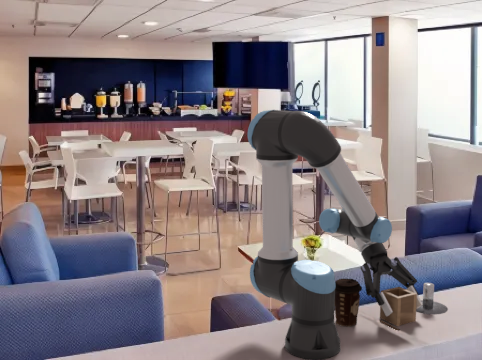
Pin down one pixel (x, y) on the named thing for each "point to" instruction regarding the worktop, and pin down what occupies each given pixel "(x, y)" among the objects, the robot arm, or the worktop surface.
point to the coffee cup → (347, 301)
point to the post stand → (430, 302)
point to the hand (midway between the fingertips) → (404, 310)
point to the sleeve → (399, 307)
